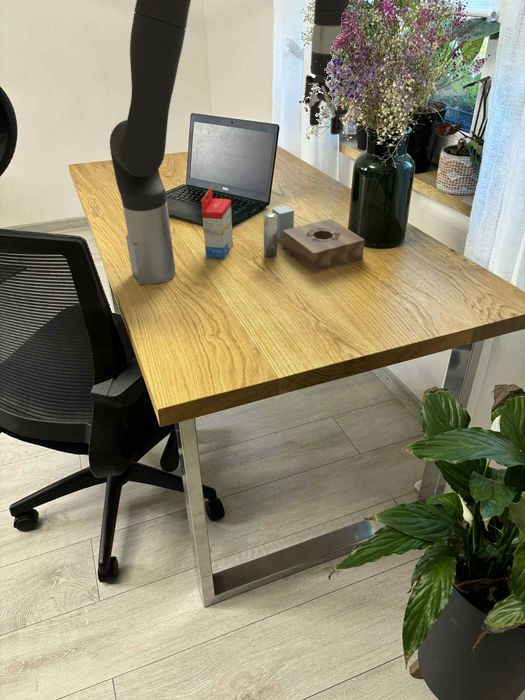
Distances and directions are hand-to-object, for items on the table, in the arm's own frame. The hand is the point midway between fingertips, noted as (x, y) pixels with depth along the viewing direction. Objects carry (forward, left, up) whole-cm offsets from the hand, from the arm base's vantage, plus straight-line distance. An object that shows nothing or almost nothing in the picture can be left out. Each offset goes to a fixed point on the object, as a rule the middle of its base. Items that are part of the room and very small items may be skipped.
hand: (324, 129), depth 124 cm
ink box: (-25, +6, -27) cm, 37 cm away
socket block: (-4, -8, -27) cm, 28 cm away
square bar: (-7, +6, -27) cm, 28 cm away
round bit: (-16, -2, -27) cm, 31 cm away
